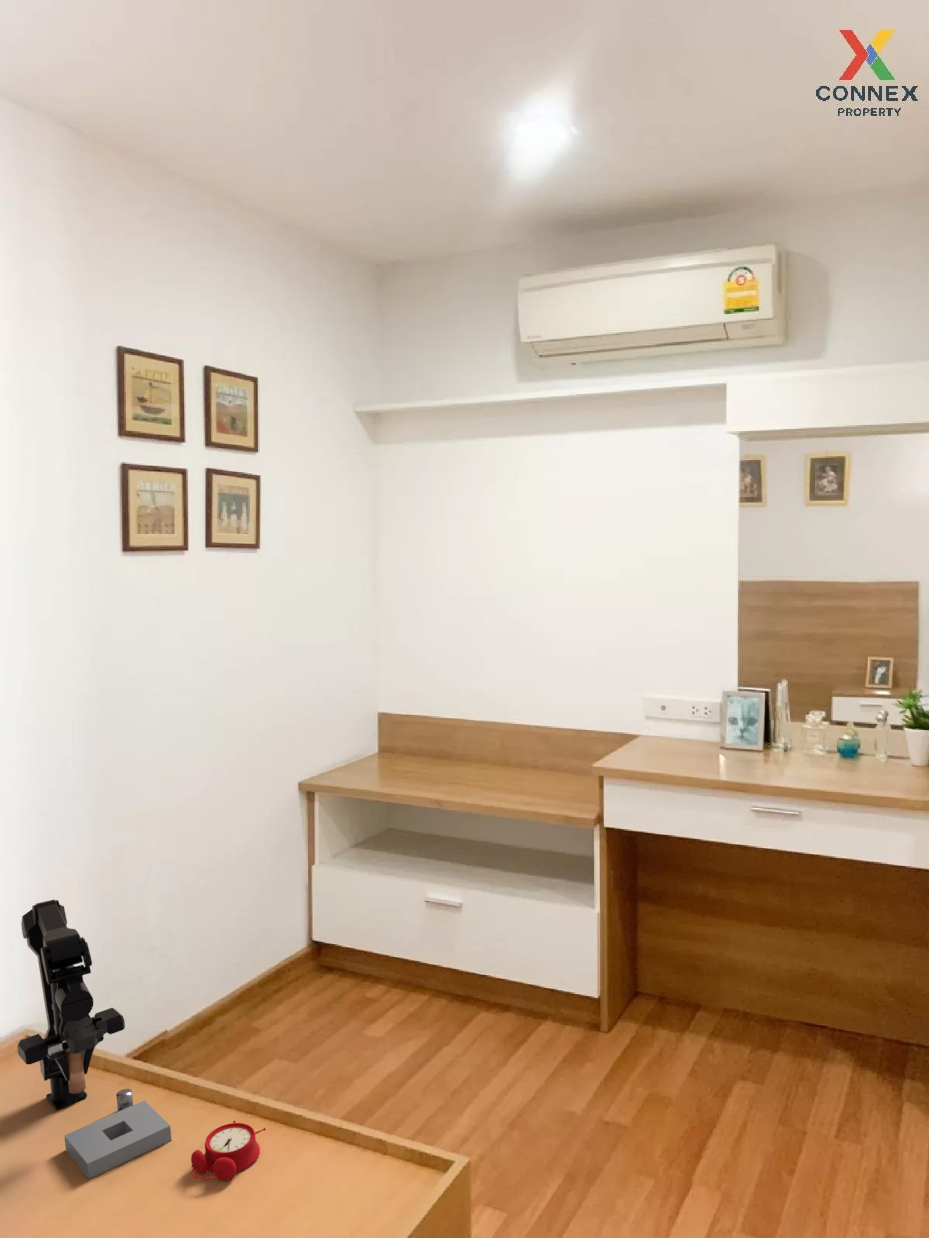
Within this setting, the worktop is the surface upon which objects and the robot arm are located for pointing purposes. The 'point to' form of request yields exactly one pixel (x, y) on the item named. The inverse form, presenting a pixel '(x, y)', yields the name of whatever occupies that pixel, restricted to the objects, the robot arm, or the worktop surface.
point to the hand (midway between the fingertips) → (76, 1076)
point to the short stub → (124, 1099)
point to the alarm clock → (227, 1151)
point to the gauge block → (117, 1138)
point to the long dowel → (75, 1072)
